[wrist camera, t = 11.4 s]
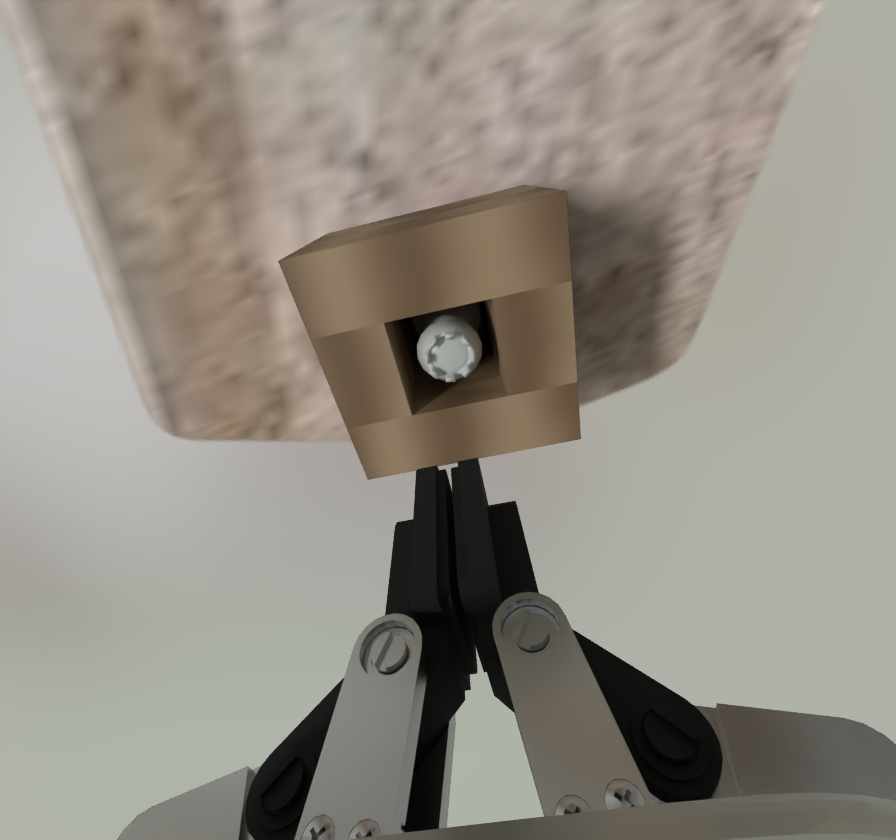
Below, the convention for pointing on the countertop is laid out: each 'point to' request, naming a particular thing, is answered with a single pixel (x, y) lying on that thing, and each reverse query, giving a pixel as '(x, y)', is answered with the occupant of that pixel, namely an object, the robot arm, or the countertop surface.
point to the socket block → (437, 288)
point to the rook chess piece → (449, 341)
